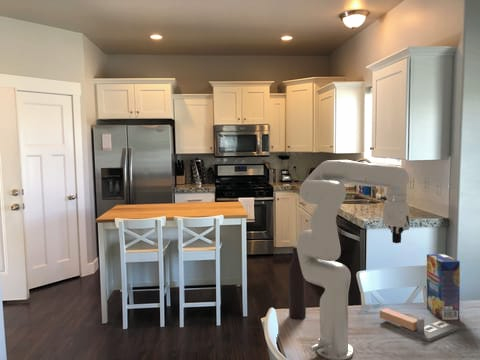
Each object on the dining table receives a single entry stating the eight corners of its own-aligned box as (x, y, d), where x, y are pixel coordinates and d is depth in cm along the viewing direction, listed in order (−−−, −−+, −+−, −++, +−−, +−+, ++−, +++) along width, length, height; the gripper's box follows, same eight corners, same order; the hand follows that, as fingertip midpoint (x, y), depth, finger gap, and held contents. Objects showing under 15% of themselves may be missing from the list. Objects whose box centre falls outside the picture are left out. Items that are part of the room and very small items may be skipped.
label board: (428, 341, 135) (428, 324, 134) (400, 329, 145) (399, 313, 145) (458, 329, 143) (458, 313, 143) (429, 318, 154) (429, 303, 153)
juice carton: (459, 319, 152) (459, 261, 151) (441, 319, 152) (441, 262, 151) (443, 307, 164) (443, 254, 163) (426, 308, 164) (426, 254, 163)
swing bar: (419, 327, 142) (419, 320, 142) (413, 330, 140) (413, 322, 140) (386, 315, 154) (385, 307, 154) (379, 317, 152) (379, 310, 152)
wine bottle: (306, 313, 162) (305, 245, 161) (305, 320, 155) (303, 249, 154) (290, 312, 164) (288, 245, 162) (288, 319, 157) (286, 248, 155)
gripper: (375, 197, 156) (375, 240, 157) (406, 200, 143) (406, 247, 144) (387, 196, 160) (387, 238, 161) (419, 198, 147) (419, 244, 148)
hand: (396, 242), depth 153 cm, fingers closed
